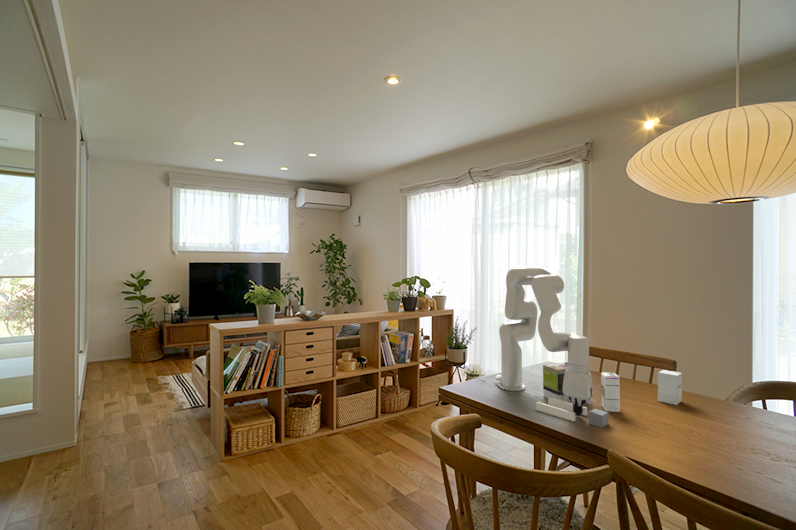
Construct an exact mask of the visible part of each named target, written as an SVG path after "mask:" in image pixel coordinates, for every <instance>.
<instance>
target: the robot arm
mask: <svg viewBox="0 0 796 530" xmlns="http://www.w3.org/2000/svg"><path fill="white" fill-rule="evenodd" d="M505 285H506V294H505V303H504V304H505V306H504V315H505V318H506V319H508V320H511V321H506V322H504V323H502V324H501V325H500V326H499V329H498V330H499V337H500V339H499V340H500V346H501V353H500V354H501V357H500V358H501V360H500V361H501V371H500V372H501V373H500V374H501V375H500V374H497V375H496V376H495V380H497V381H499V382H498V383H497V386H499V387H500V389H501V388H502V389H501V390H504V389H505V390H504V391H508V390H509V392H520V391H524V390H525V389H526V385H525V384H524V383H523V355H522V354H523V351H522V348H521V346H520V344H519V342H523V341H525V342H526V341H531V340H533V339H534V338H535V335H536V330H538V334H539V338H540V341H541V343H542V345H543V347H544V349H546V350H547V351H548V352H551V353H556V352H567V361H566V362H565V361H564V363H565V366H567V368H568V369H566V370H565V374H564V380H563V393H564V396H565V397H567V398H569V399H570V400H571V401H570V403H572V404H573V412H574V413H575V416H576V417H579V416H580V417H581V416H582V415H581V414H582V412H583V407H584V406H583V405H585V404H591V403H593V395H594V392H593V391H594V389H593V387H594V386H593V379H592V375H591V374H592V373H591V372H590V364H589V363H590V360H589V359H590V341H589V340H590V339H589V338H588V337H587V336H584V335H578V334H575V333H573V332H571V331H562V332H554V330H553V328H552V325H551V319H552V316H553V315H555V314H556V313H558V312H559V311H560V310H561V308H562V304H561V302H560V300H559V297H558V295H557V294H560V293H562V292H563V291H564V289H565V283H564V280H563V279H562V276H560V275H558V274H556V273H555V272H553V271H551V270H549V269H547V268H545V267H542V266H516V267H511V269H509V270H508V272H507V273H506V276H505ZM523 286H530V287H531V289H532V292H533V294H534V297H535V299H536V302H537V304H536V303H535V302H534V301H533V300H532V299H525V296H526V292H525V289H524V288H525V287H523ZM537 305H538V307H537ZM538 308H539V310H540V314H539V317H538ZM515 320H516V321H515ZM518 320H519V321H518ZM520 320H521V321H520ZM537 320H538V322H537ZM536 328H537V329H536ZM499 387H498V388H499Z"/></svg>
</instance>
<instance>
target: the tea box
mask: <svg viewBox="0 0 796 530" xmlns="http://www.w3.org/2000/svg"><path fill="white" fill-rule="evenodd" d="M566 369H568V368H567V366H565V362H556V363H550V364H543V365H542V378H543V384H542V387H543V388H542V390H543V397H544V398H546V399H548V397H551V398H555V399H559V400H562V401H566V402H569V403H571V400H570V399H569V398H567V397H565V396H564V393H563V380H564V374H565V370H566Z"/></svg>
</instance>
